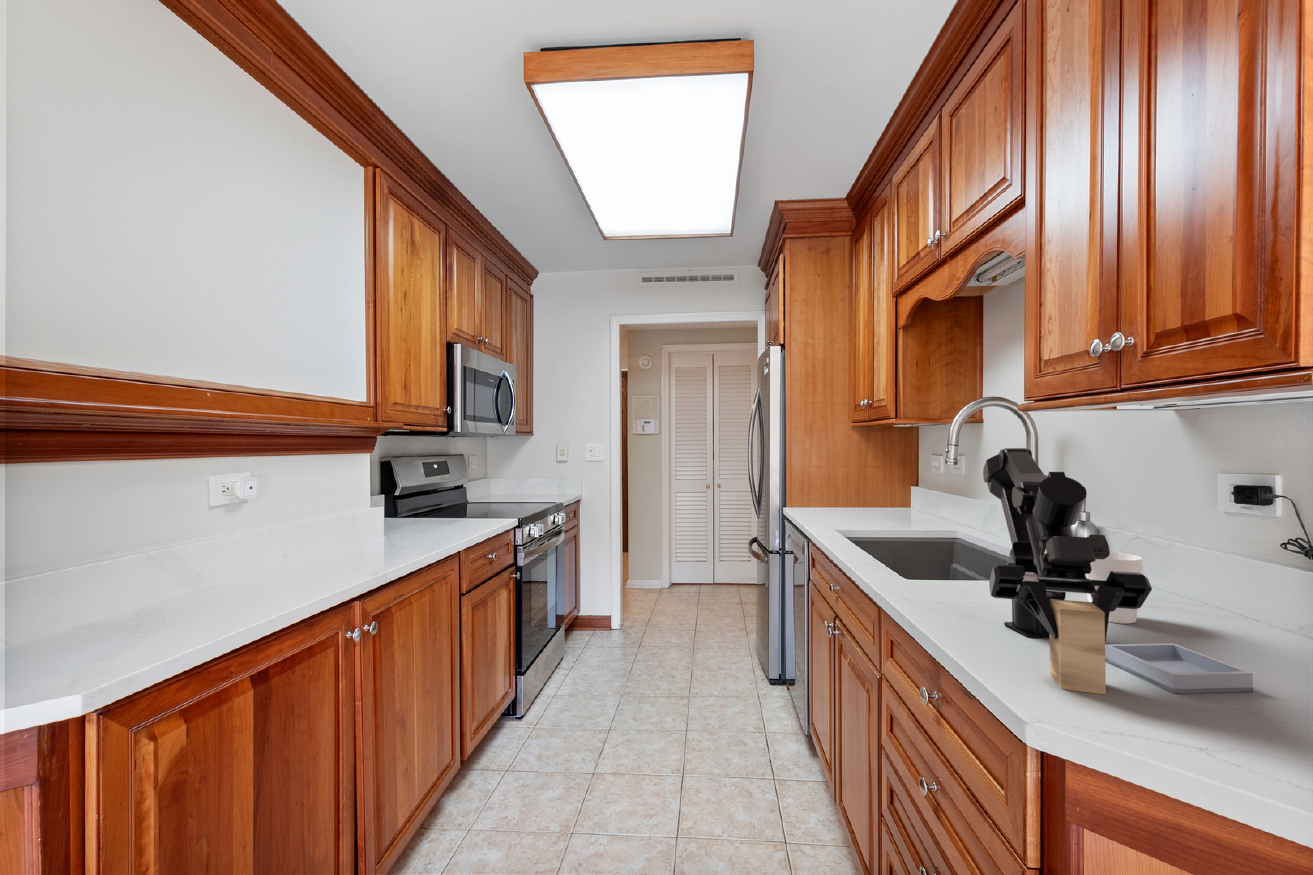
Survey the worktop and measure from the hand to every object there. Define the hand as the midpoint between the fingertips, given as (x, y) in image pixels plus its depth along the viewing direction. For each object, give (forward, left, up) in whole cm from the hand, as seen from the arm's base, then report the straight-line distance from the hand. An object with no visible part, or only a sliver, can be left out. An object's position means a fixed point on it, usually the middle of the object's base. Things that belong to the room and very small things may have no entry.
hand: (1079, 639), depth 76 cm
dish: (-3, +17, -7) cm, 18 cm away
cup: (-28, +30, -7) cm, 42 cm away
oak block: (-1, +1, -7) cm, 7 cm away
